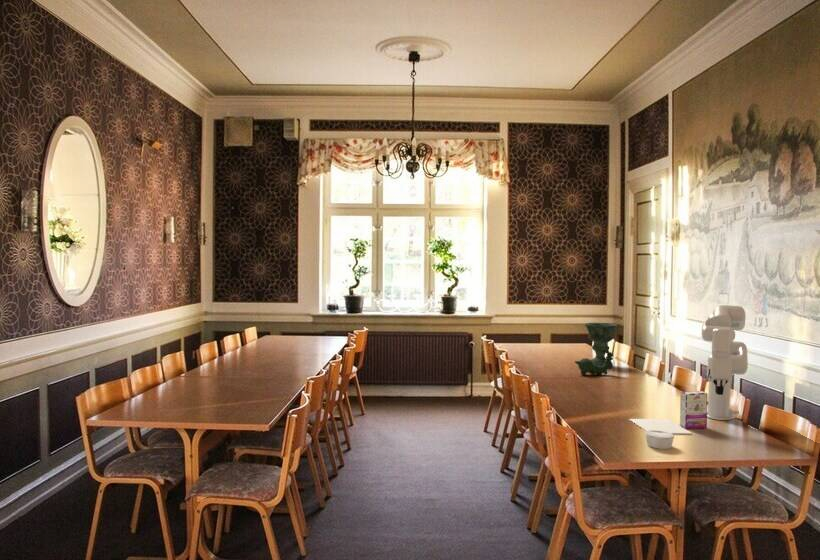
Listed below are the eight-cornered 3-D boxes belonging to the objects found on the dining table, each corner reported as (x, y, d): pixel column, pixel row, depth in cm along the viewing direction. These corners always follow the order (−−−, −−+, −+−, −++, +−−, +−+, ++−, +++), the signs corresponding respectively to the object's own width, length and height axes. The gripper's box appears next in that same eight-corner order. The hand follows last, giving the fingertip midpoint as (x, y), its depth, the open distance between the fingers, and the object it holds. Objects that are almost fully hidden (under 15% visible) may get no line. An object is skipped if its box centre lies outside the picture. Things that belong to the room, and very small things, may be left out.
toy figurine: (607, 376, 428) (570, 372, 426) (610, 348, 427) (574, 344, 425) (612, 379, 419) (575, 375, 416) (616, 350, 418) (578, 346, 416)
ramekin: (666, 442, 272) (667, 430, 272) (678, 450, 261) (678, 437, 261) (640, 442, 272) (641, 429, 271) (651, 450, 261) (651, 437, 260)
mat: (667, 420, 308) (667, 419, 308) (691, 434, 284) (691, 433, 284) (628, 420, 307) (628, 418, 307) (650, 434, 283) (650, 433, 283)
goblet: (623, 367, 454) (624, 325, 453) (600, 369, 443) (601, 326, 442) (599, 362, 473) (600, 322, 472) (577, 364, 462) (578, 323, 461)
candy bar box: (700, 425, 300) (701, 390, 300) (707, 428, 295) (708, 393, 295) (678, 426, 298) (680, 391, 297) (685, 429, 293) (686, 393, 292)
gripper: (731, 354, 300) (730, 392, 301) (700, 353, 299) (699, 392, 300) (741, 356, 292) (739, 396, 293) (709, 355, 292) (707, 395, 292)
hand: (719, 394), depth 296 cm, fingers closed
